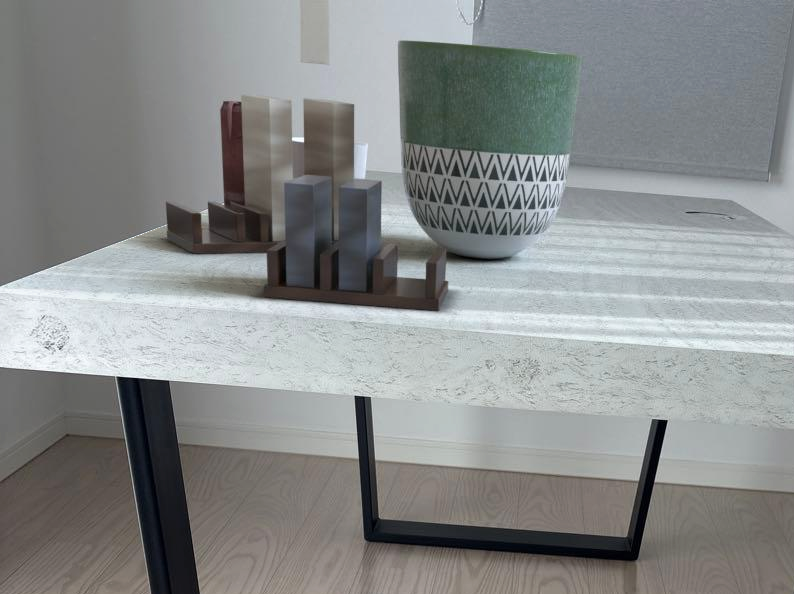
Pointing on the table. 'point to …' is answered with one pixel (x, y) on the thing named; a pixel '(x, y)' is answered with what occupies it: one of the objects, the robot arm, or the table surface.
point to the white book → (315, 31)
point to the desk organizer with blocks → (345, 251)
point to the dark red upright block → (232, 152)
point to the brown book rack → (271, 176)
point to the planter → (485, 142)
